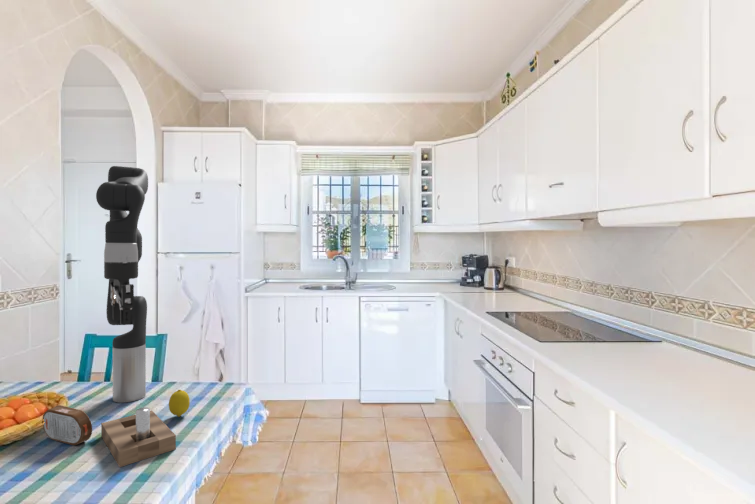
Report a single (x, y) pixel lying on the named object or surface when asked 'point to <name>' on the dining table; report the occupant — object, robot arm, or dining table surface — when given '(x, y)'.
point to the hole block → (124, 443)
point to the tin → (67, 425)
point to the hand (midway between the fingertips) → (121, 322)
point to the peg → (142, 424)
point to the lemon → (179, 403)
